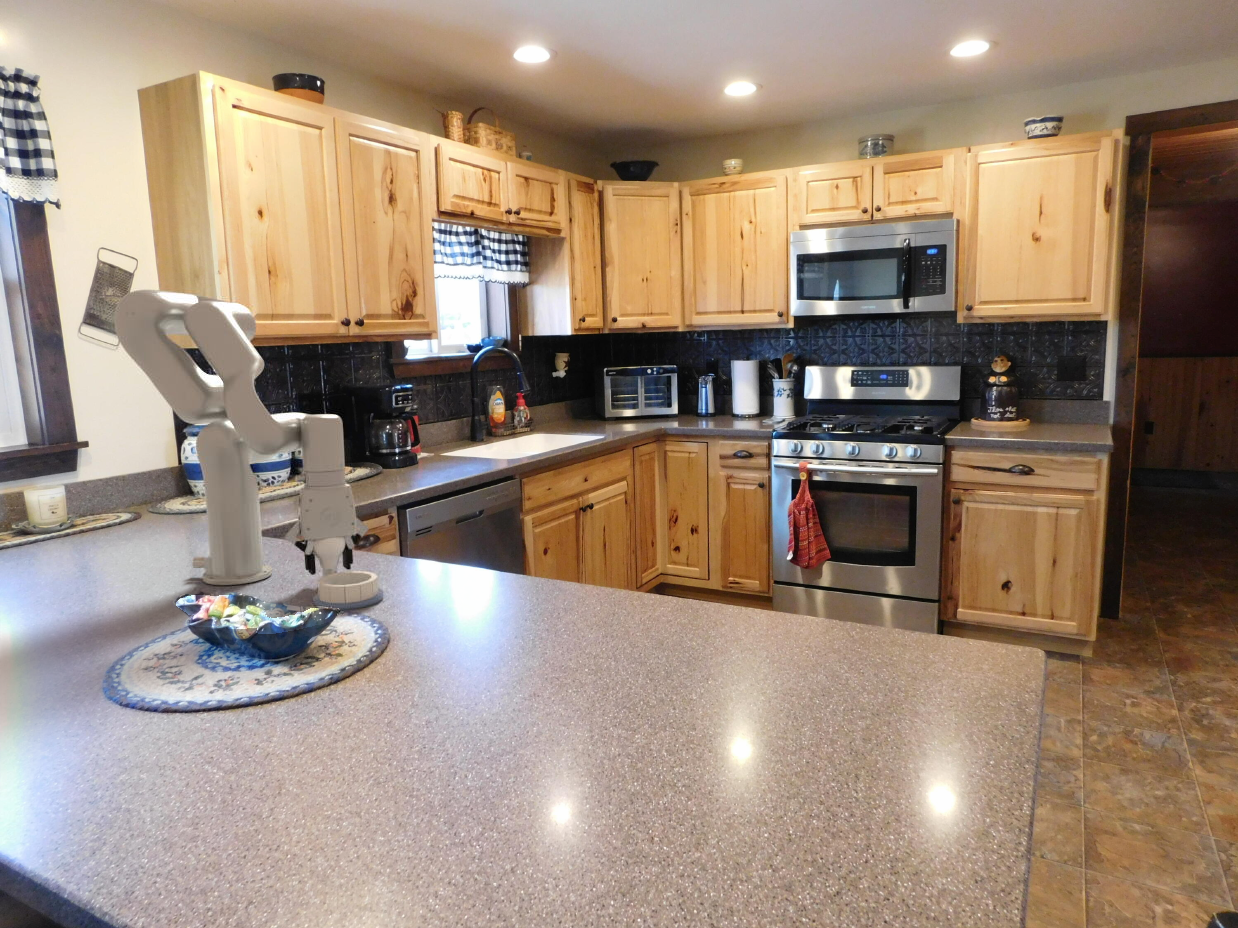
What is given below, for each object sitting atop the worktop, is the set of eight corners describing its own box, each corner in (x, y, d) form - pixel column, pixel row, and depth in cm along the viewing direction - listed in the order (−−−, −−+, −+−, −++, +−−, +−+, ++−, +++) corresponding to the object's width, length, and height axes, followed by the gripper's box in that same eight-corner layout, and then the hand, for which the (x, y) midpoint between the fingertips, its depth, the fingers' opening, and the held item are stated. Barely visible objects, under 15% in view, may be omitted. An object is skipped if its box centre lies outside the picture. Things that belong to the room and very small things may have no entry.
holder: (301, 609, 142) (300, 587, 141) (329, 590, 153) (328, 569, 153) (369, 610, 141) (368, 588, 140) (392, 590, 153) (391, 570, 152)
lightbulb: (352, 578, 161) (350, 524, 160) (338, 587, 155) (335, 531, 154) (322, 577, 162) (319, 523, 160) (306, 586, 156) (303, 530, 154)
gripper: (280, 485, 148) (286, 581, 150) (375, 477, 157) (379, 568, 160) (272, 480, 154) (278, 572, 157) (364, 473, 164) (368, 560, 166)
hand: (329, 569), depth 158 cm, fingers closed on lightbulb, 5 cm apart
